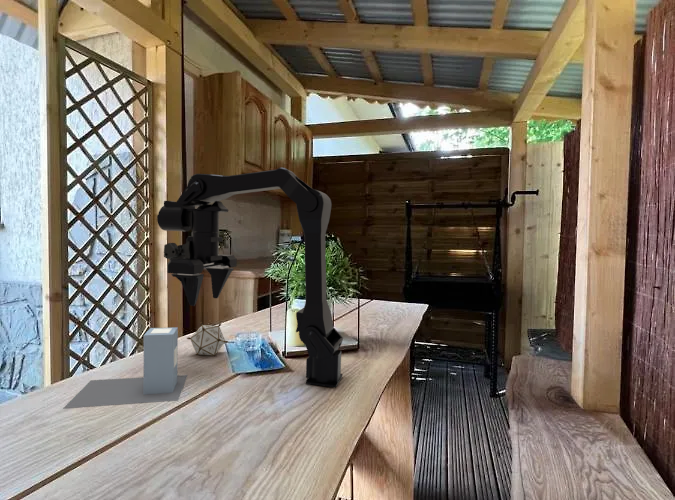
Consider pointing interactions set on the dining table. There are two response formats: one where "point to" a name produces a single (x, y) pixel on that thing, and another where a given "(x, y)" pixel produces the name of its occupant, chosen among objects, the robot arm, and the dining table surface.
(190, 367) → the dining table surface
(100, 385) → the mat
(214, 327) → the game die
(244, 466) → the dining table surface
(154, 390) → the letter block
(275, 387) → the dining table surface
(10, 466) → the dining table surface
